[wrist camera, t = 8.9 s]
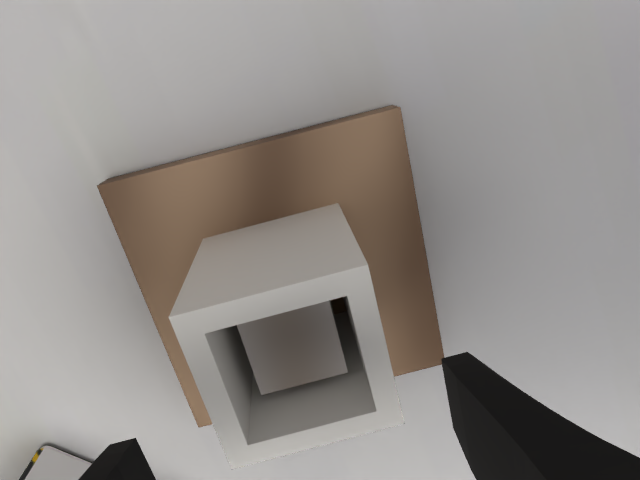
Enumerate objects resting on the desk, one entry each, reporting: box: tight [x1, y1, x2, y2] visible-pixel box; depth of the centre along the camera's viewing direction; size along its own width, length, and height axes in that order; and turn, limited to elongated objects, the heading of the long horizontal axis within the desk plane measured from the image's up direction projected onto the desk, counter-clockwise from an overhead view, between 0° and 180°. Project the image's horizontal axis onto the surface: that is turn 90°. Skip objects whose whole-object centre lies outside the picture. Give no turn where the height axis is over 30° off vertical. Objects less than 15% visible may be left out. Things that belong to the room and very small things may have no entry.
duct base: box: [97, 105, 444, 427], centre depth 17 cm, size 11×11×6 cm
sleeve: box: [169, 203, 405, 470], centre depth 16 cm, size 5×5×6 cm
